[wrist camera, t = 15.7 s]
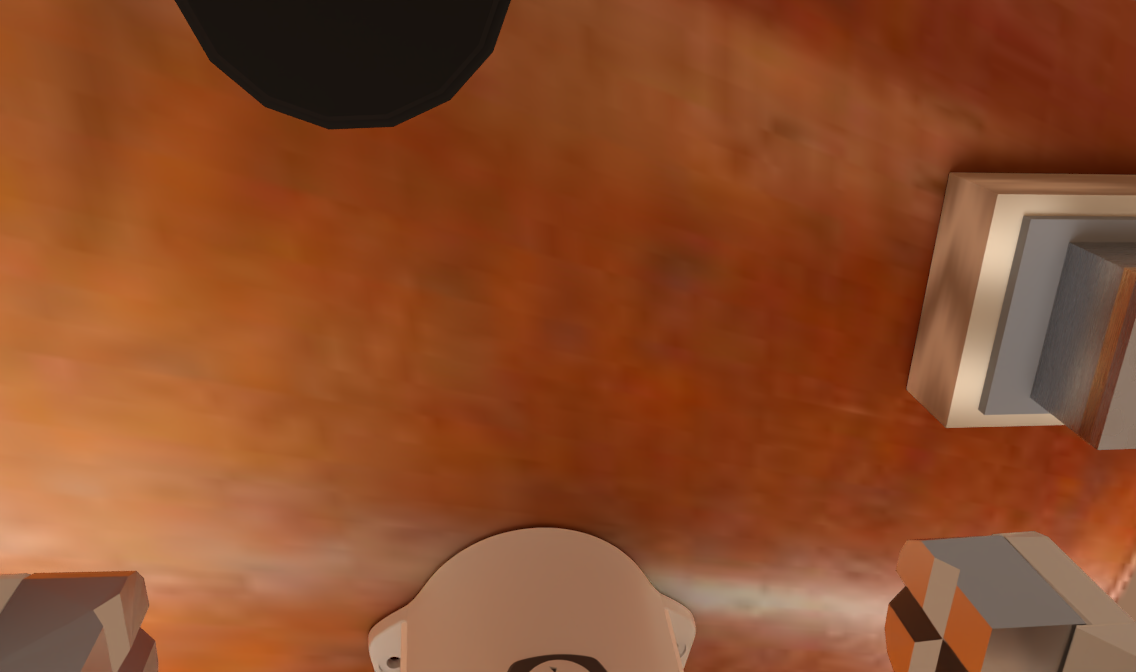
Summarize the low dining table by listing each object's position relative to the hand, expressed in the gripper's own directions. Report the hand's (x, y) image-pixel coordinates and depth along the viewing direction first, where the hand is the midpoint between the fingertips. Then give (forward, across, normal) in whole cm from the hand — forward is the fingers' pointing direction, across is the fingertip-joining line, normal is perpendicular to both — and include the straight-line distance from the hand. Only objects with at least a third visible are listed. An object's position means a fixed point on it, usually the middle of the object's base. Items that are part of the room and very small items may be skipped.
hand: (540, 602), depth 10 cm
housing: (+30, -30, +9) cm, 43 cm away
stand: (+35, -30, +9) cm, 47 cm away
